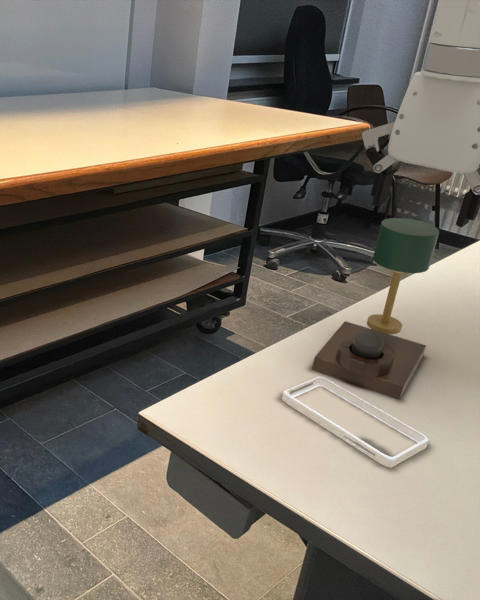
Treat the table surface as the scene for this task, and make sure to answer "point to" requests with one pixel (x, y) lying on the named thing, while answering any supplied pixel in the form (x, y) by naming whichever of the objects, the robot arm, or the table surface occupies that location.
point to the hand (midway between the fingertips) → (419, 213)
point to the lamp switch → (367, 346)
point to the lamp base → (370, 361)
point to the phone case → (366, 407)
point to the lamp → (401, 261)
